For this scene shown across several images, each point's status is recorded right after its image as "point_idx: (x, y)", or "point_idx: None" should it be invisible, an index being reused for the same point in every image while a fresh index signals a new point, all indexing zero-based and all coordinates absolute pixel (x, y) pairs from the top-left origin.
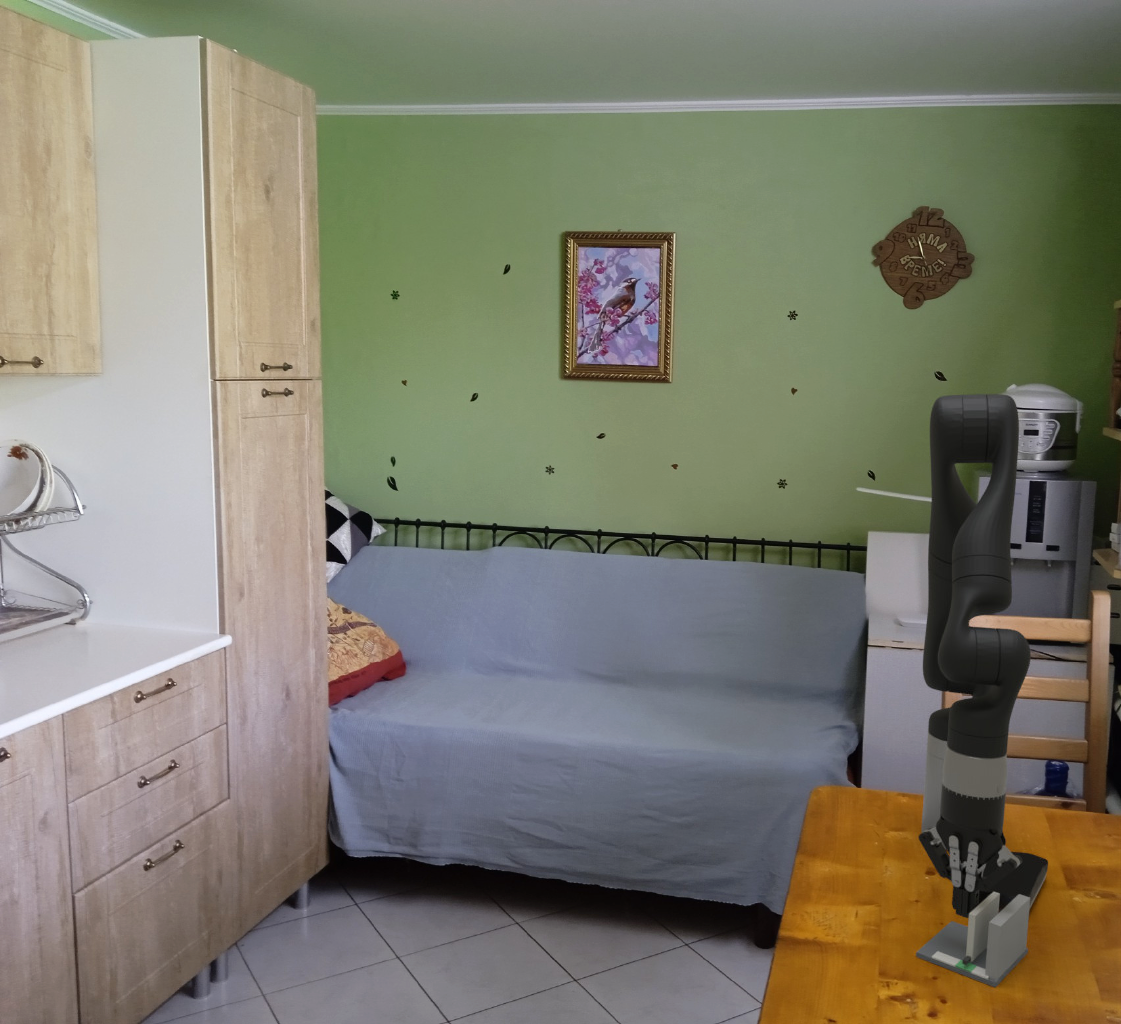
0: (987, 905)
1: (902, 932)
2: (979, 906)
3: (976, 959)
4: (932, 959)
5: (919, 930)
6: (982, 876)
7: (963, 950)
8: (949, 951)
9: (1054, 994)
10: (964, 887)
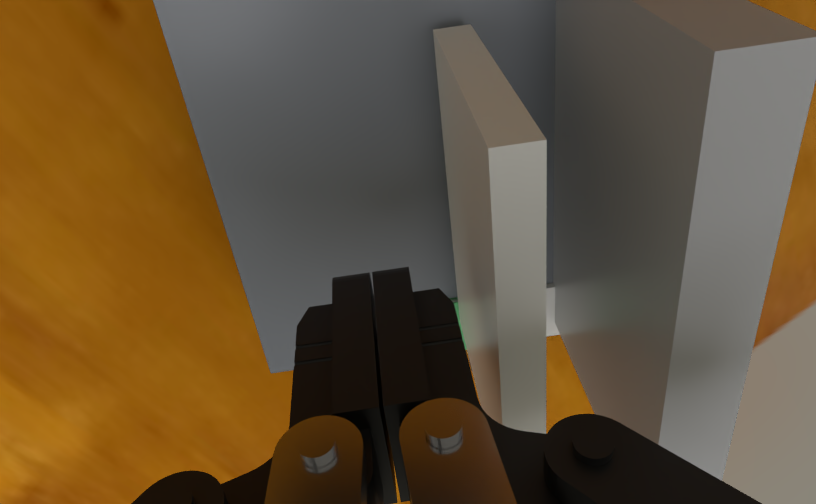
0: (543, 358)
1: (88, 254)
2: (514, 414)
3: None
4: None
5: (112, 177)
6: (504, 470)
7: (390, 220)
8: (354, 273)
9: (802, 182)
10: (386, 472)
